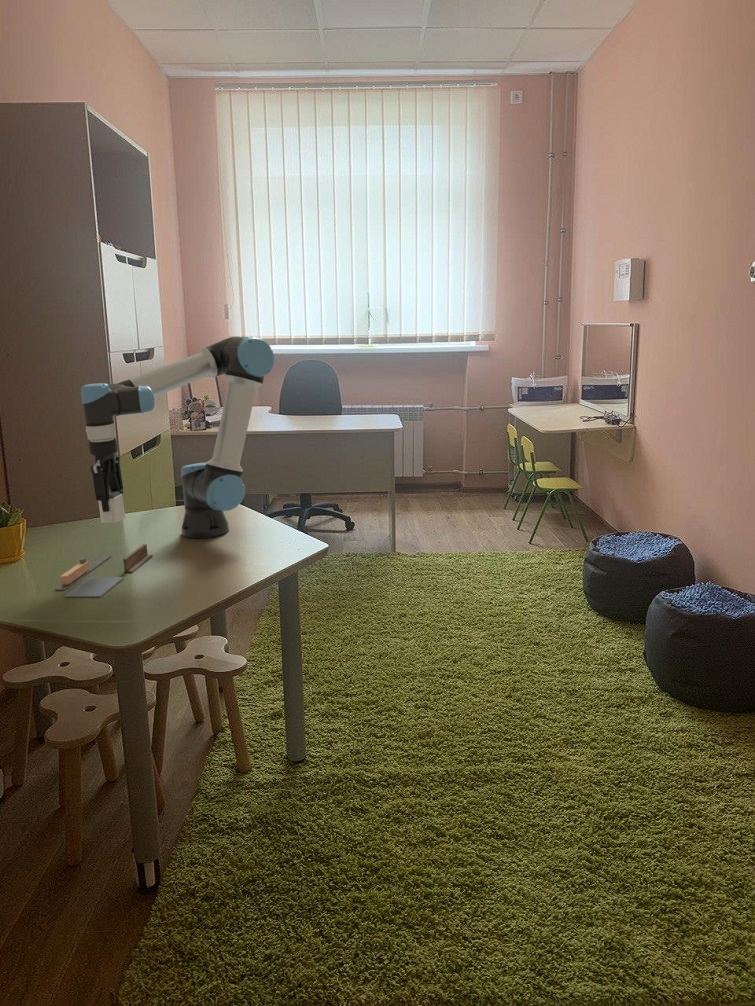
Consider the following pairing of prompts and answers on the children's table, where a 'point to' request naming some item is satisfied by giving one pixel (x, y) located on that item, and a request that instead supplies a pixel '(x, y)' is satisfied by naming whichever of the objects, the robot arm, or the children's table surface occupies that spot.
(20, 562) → the children's table surface
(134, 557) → the fence
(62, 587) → the track
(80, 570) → the bar
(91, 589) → the felt mat
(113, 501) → the plug block
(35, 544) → the children's table surface
